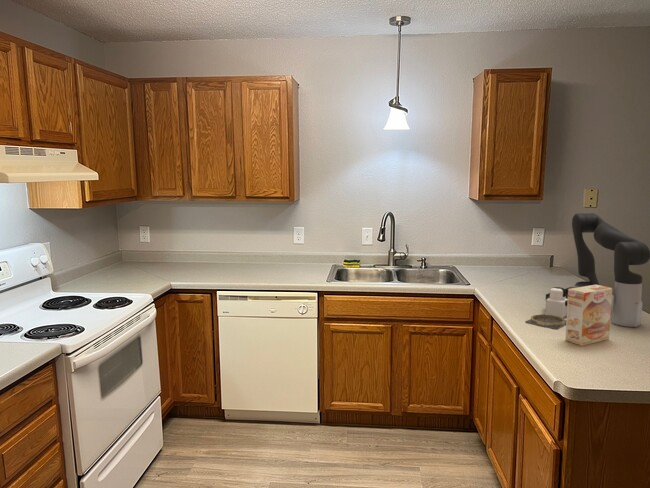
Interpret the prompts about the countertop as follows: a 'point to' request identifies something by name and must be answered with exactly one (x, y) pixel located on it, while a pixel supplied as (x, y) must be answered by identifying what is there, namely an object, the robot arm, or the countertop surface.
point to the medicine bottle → (556, 302)
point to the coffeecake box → (588, 314)
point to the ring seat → (547, 321)
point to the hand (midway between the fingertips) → (556, 301)
